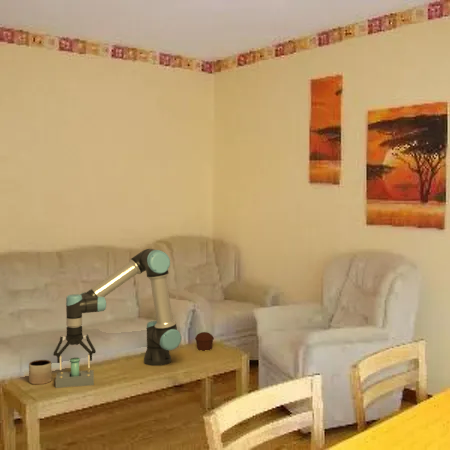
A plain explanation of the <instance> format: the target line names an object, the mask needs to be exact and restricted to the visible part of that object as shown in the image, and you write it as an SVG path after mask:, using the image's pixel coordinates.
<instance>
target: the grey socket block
mask: <svg viewBox="0 0 450 450" xmlns="http://www.w3.org/2000/svg"><path fill="white" fill-rule="evenodd" d="M94 372H95V371H94V369H89V370H88V369H87V370H86V369H85V370H79V376H73V377H71V371H61V372H60V371H59V372H56V376H55V388H56V389H57V388H58V389H60V388H71V387H72V388H73V387H85V386H94V385H95V382H94V381H95V378H94V375H95V373H94Z"/></svg>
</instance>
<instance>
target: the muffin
mask: <svg viewBox="0 0 450 450" xmlns="http://www.w3.org/2000/svg"><path fill="white" fill-rule="evenodd" d="M194 339H195V342H196V349H198V350H197V351H200V350H202V351H201V352H206V351H205V350H209V351H211V350H210V349H212V348H213V342H214V340H215V338H214V336H213V334H211V332H208V331H202V332H199V333H198V334H196V336H195V338H194Z"/></svg>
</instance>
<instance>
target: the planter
mask: <svg viewBox="0 0 450 450" xmlns="http://www.w3.org/2000/svg"><path fill="white" fill-rule="evenodd" d="M52 373H53V372H52V360H50V359H49V360H48V359H37V360H32V361H30V362H29V363H28V382H29V383H30V384H31V385H46V384H48V383H50V382H51V381H52V380H53V379H52V378H53V377H52V376H53V375H52Z"/></svg>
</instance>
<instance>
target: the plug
mask: <svg viewBox="0 0 450 450" xmlns="http://www.w3.org/2000/svg"><path fill="white" fill-rule="evenodd" d="M80 361H81V358H80V357H70V358H69V363H70V372H71V377H73V376H79V371H80Z"/></svg>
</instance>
